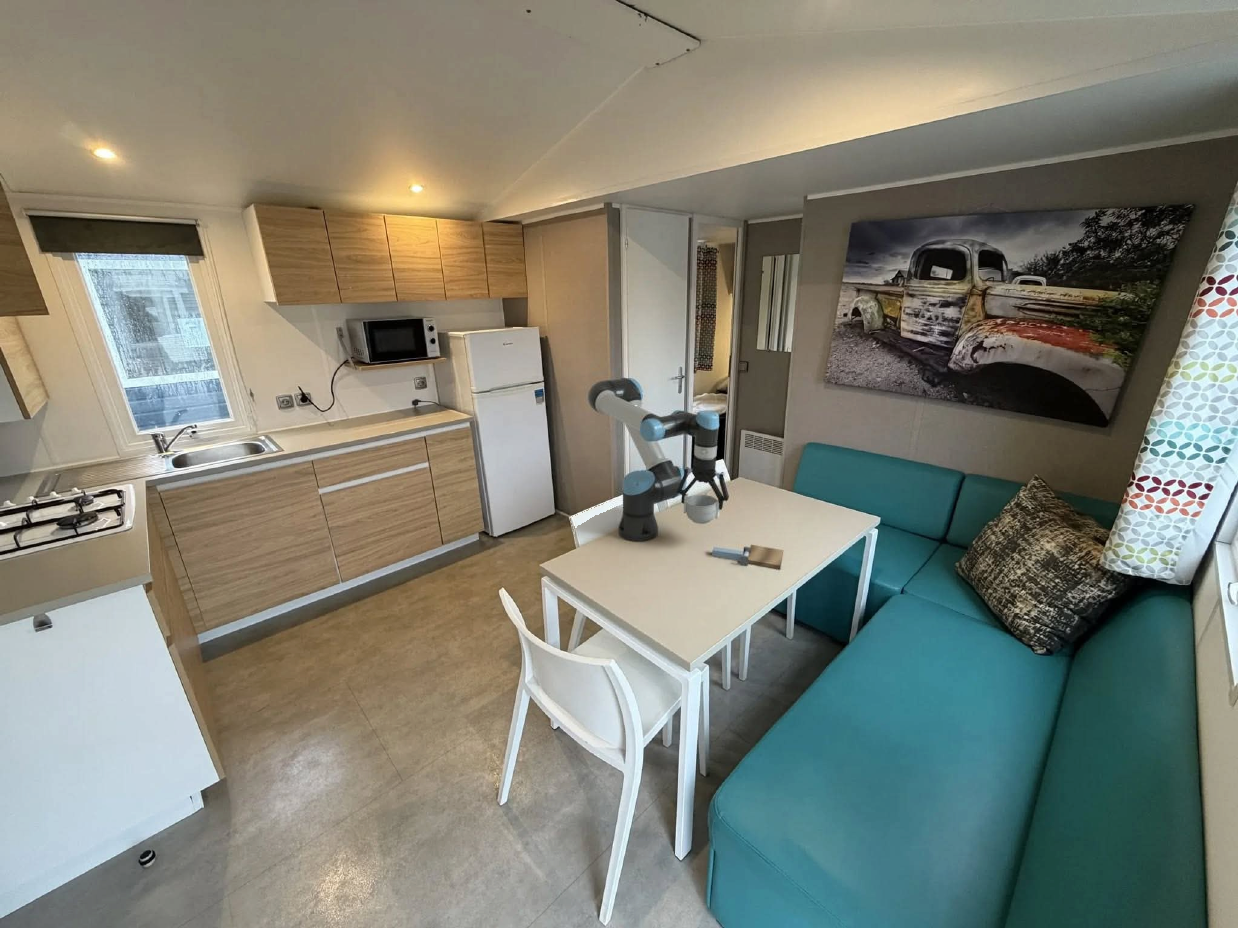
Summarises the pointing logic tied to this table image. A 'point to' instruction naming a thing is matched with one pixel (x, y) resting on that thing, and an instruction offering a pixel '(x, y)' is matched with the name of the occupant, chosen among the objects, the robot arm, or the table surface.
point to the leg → (728, 553)
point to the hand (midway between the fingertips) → (701, 514)
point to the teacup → (701, 508)
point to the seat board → (765, 556)
